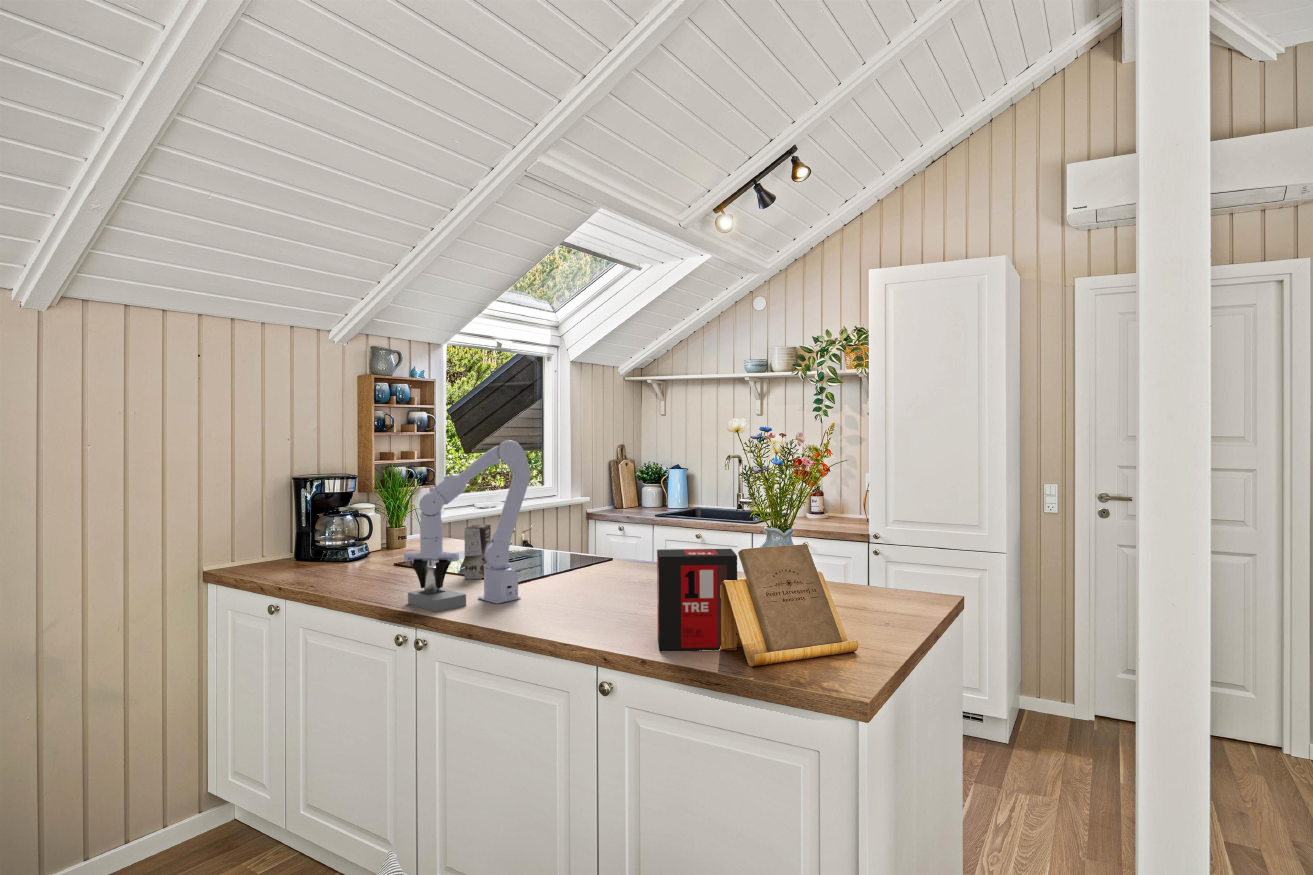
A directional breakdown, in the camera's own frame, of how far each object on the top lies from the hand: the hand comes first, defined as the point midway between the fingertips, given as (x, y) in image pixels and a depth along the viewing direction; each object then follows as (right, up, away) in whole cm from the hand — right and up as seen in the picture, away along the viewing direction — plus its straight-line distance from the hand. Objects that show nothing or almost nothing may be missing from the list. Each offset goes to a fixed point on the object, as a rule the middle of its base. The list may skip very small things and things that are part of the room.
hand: (431, 587), depth 190 cm
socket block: (+2, -4, -2) cm, 5 cm away
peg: (0, -3, 0) cm, 3 cm away
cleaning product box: (+70, -4, -38) cm, 80 cm away
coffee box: (+4, -4, +35) cm, 35 cm away
